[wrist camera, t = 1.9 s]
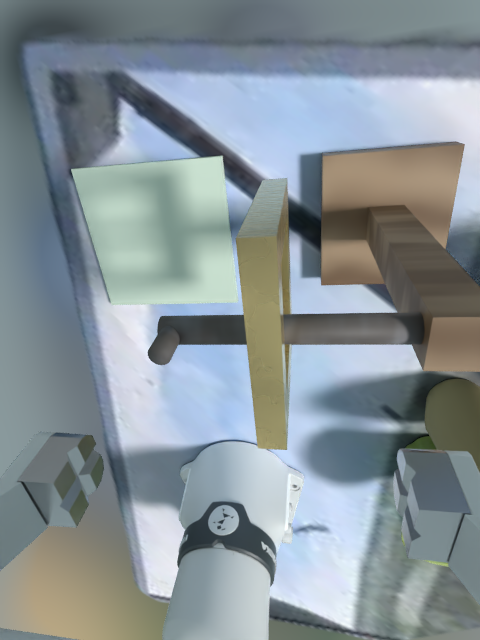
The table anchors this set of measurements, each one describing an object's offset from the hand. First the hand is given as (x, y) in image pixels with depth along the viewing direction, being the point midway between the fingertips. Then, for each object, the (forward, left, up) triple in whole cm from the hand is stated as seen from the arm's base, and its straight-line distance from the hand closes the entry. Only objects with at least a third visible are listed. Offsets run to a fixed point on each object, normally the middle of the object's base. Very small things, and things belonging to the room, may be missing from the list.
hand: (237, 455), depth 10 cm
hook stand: (-3, -4, -30) cm, 31 cm away
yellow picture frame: (-3, 0, -20) cm, 20 cm away
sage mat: (-4, +13, -30) cm, 33 cm away
